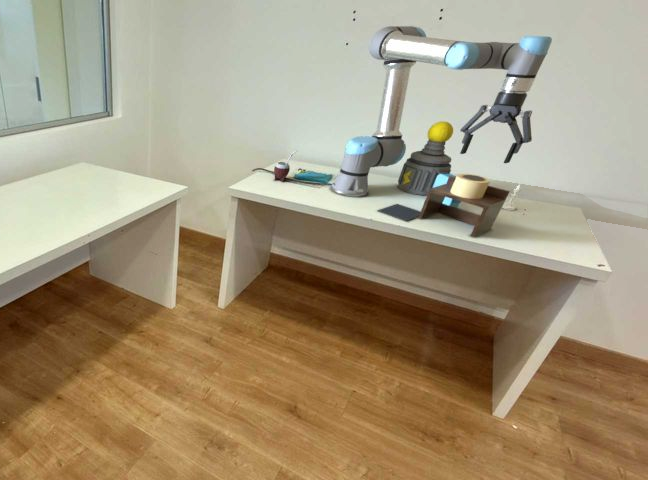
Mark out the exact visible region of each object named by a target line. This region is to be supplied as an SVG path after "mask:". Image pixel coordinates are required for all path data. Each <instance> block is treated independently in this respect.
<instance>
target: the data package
mask: <svg viewBox="0 0 648 480" xmlns="http://www.w3.org/2000/svg"><path fill="white" fill-rule="evenodd" d="M449 176H454V177H457V175H454V174H452V173H450V174H439V175H438V176H437V178H436V180H435V183H434V185H433V188H434V187H437V186H440V185H443V184H446V183H447V181H448V178H449ZM461 203H462V201H458V200H455V199H452V198H448V197H445V198H444V201H443V204H446V205H450V206H453V207H456V208H459V207H460V204H461Z"/></svg>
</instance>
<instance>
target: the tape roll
mask: <svg viewBox="0 0 648 480" xmlns="http://www.w3.org/2000/svg"><path fill="white" fill-rule="evenodd" d="M456 176H457V177H456V179H455V181H454V184H453V186H452V188H451V191H450V192H451V193H452V194H454V195H457V196H460V197H464V198H470V199H480V198H482V197H483V195H484V193H485V191H486V189H487V187H488V185H489V186H490V183H491V179H489V178H488V177H485V176H482V175H477V174H471V173H459V174H457V175H456Z"/></svg>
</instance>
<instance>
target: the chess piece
mask: <svg viewBox="0 0 648 480" xmlns="http://www.w3.org/2000/svg"><path fill="white" fill-rule="evenodd" d="M520 188H521V184H518V185H517V186H516V188H513V193H511V194H510V195H511V197H510V198H509V200H508V201H507V202H505V203H504V204H503V206H502V208H501V209H504V210H507V211H514V210H516V206H515V205H514V201H515V199H516V197H518V193H519V192H520V191H521V189H520Z"/></svg>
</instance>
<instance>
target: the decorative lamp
mask: <svg viewBox="0 0 648 480" xmlns="http://www.w3.org/2000/svg"><path fill="white" fill-rule="evenodd" d="M453 134H454V127H453V125H452V124H451V123H450V122H449V121H443V120H441V121H438V122H436V123H434V124H432V125H431V126H430V128H428V131H427V139H428V140H427V141H426V143H425V144H424V146H423V148H422V149H421V150H417V151H413V152H411V154H410V157H408V158H407V159H406V160H405V162H404V163H403V165H402V169H401V172H400V174H399V177H398V180H397V187H398V188H399V190H402V191H404V192H406V193H410V194H413V195H418V196H426V197H427V195H428V192H429V190H430V189H431V188H433V185H434V183H435V180H436V178H437V176H438V175H439V174H451V171H452V164H451V162H452V157H451V156H449V155H447V154H446V153H445V150H446V146H445V145H446V142H447V141H449V140H450V139H451V138H452V137H453Z"/></svg>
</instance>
